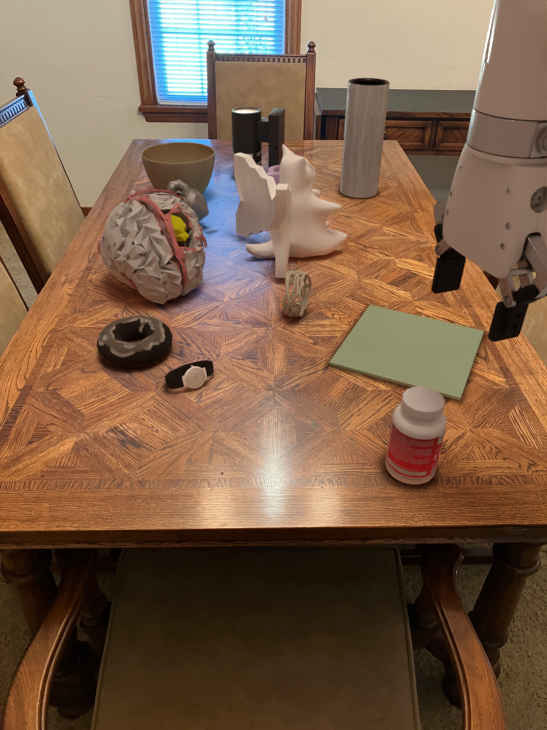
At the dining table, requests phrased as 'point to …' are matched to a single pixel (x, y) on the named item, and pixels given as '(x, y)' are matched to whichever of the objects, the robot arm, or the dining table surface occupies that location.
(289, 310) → the bracelet
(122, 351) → the donut
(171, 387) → the watch
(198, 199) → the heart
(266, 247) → the white spiky figurine
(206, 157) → the flower pot
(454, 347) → the mat
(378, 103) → the planter
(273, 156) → the light fixture
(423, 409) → the pill bottle
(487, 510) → the dining table surface
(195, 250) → the decorative sculpture
